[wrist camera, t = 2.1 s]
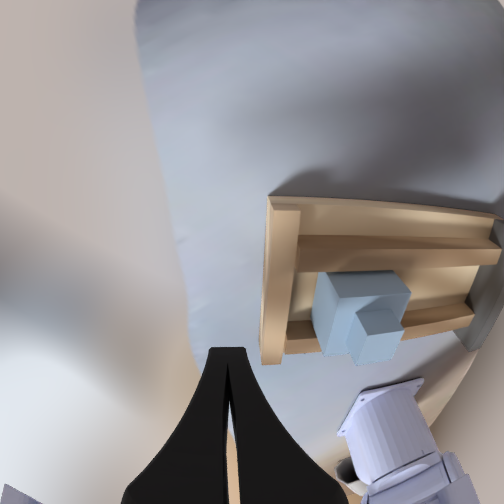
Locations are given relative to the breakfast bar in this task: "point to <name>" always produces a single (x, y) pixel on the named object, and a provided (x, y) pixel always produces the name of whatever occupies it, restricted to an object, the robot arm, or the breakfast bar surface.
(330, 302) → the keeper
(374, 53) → the breakfast bar surface
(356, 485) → the tube
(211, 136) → the breakfast bar surface
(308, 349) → the track
